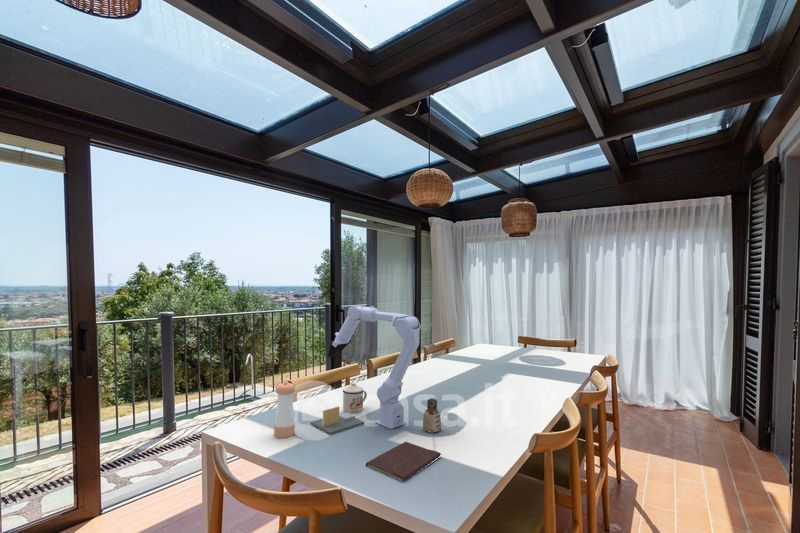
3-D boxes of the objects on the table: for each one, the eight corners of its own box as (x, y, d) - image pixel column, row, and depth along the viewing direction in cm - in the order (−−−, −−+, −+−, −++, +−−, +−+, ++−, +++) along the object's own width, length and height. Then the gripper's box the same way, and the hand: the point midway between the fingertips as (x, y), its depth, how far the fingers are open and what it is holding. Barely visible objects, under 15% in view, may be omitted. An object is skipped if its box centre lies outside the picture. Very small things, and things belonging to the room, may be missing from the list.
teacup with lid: (350, 415, 160) (351, 387, 160) (338, 409, 166) (338, 382, 167) (372, 408, 168) (372, 382, 168) (360, 403, 175) (360, 378, 175)
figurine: (442, 427, 148) (442, 396, 148) (439, 434, 141) (439, 401, 142) (424, 425, 150) (425, 394, 150) (421, 431, 143) (421, 399, 143)
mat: (363, 423, 150) (364, 421, 150) (330, 434, 139) (330, 432, 139) (343, 414, 160) (343, 412, 160) (310, 424, 149) (310, 422, 149)
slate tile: (355, 418, 153) (355, 415, 153) (345, 421, 150) (345, 418, 150) (346, 414, 158) (346, 411, 158) (336, 417, 154) (336, 414, 154)
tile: (339, 422, 150) (339, 406, 150) (324, 426, 145) (324, 410, 145) (337, 421, 150) (337, 406, 151) (322, 425, 146) (322, 410, 146)
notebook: (365, 467, 116) (365, 460, 116) (404, 445, 132) (404, 440, 132) (403, 484, 107) (404, 477, 107) (441, 458, 123) (441, 452, 123)
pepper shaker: (273, 431, 141) (275, 380, 142) (293, 429, 144) (294, 378, 145) (274, 439, 135) (275, 385, 135) (295, 436, 137) (296, 383, 138)
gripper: (347, 320, 172) (334, 344, 175) (332, 328, 158) (318, 354, 161) (360, 329, 170) (346, 352, 173) (345, 338, 156) (331, 363, 160)
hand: (334, 354), depth 167 cm, fingers open, 7 cm apart
